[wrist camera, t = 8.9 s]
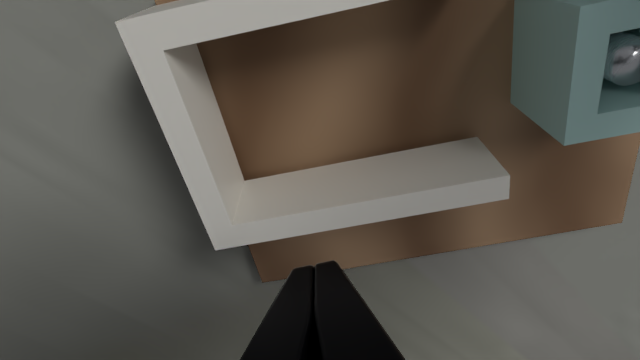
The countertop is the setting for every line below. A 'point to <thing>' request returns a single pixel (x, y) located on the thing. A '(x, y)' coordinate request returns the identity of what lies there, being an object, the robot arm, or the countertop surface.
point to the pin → (623, 59)
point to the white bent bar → (293, 187)
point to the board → (405, 125)
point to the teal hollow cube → (572, 68)
